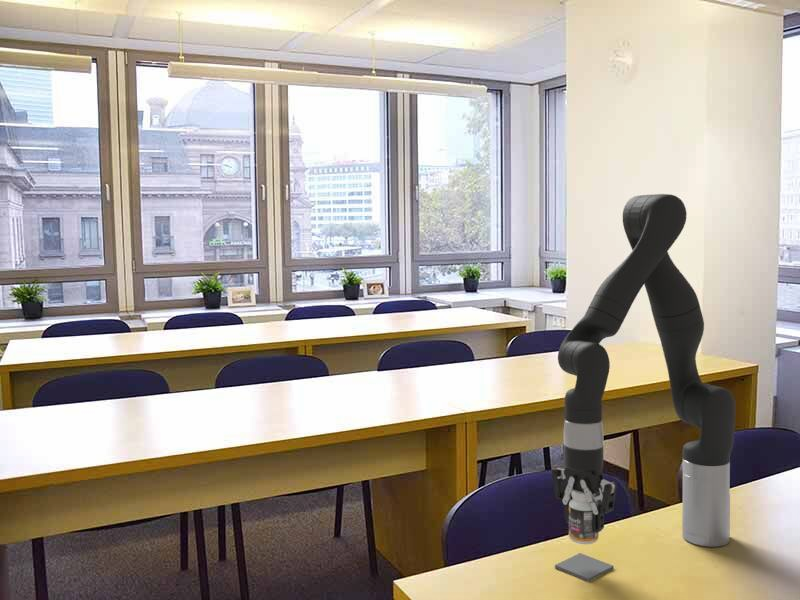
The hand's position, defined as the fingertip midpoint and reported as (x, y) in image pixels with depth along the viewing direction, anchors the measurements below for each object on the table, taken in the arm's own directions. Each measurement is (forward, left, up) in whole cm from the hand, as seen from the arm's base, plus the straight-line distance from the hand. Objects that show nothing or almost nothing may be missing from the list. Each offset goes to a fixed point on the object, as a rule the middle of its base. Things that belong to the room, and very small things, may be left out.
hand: (583, 526), depth 145 cm
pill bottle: (0, 0, -3) cm, 3 cm away
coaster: (0, 0, -9) cm, 9 cm away
